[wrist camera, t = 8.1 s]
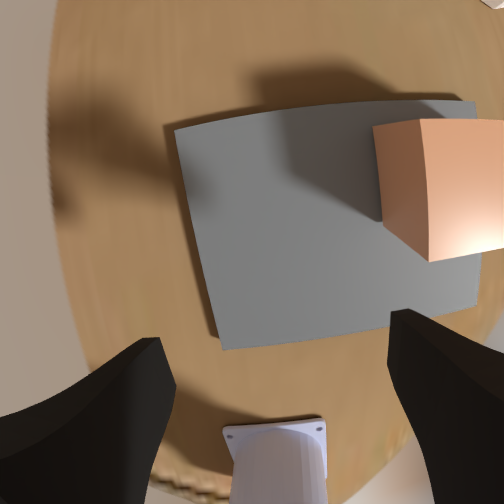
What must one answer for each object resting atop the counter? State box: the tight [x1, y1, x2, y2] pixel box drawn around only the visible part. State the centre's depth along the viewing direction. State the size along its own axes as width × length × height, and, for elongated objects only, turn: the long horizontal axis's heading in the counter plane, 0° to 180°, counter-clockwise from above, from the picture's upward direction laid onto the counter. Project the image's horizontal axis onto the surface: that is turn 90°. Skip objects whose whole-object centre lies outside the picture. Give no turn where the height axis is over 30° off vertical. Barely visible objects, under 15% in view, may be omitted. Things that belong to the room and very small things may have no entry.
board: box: [174, 100, 482, 350], centre depth 17 cm, size 13×17×1 cm
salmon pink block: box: [372, 119, 504, 262], centre depth 12 cm, size 5×5×6 cm
